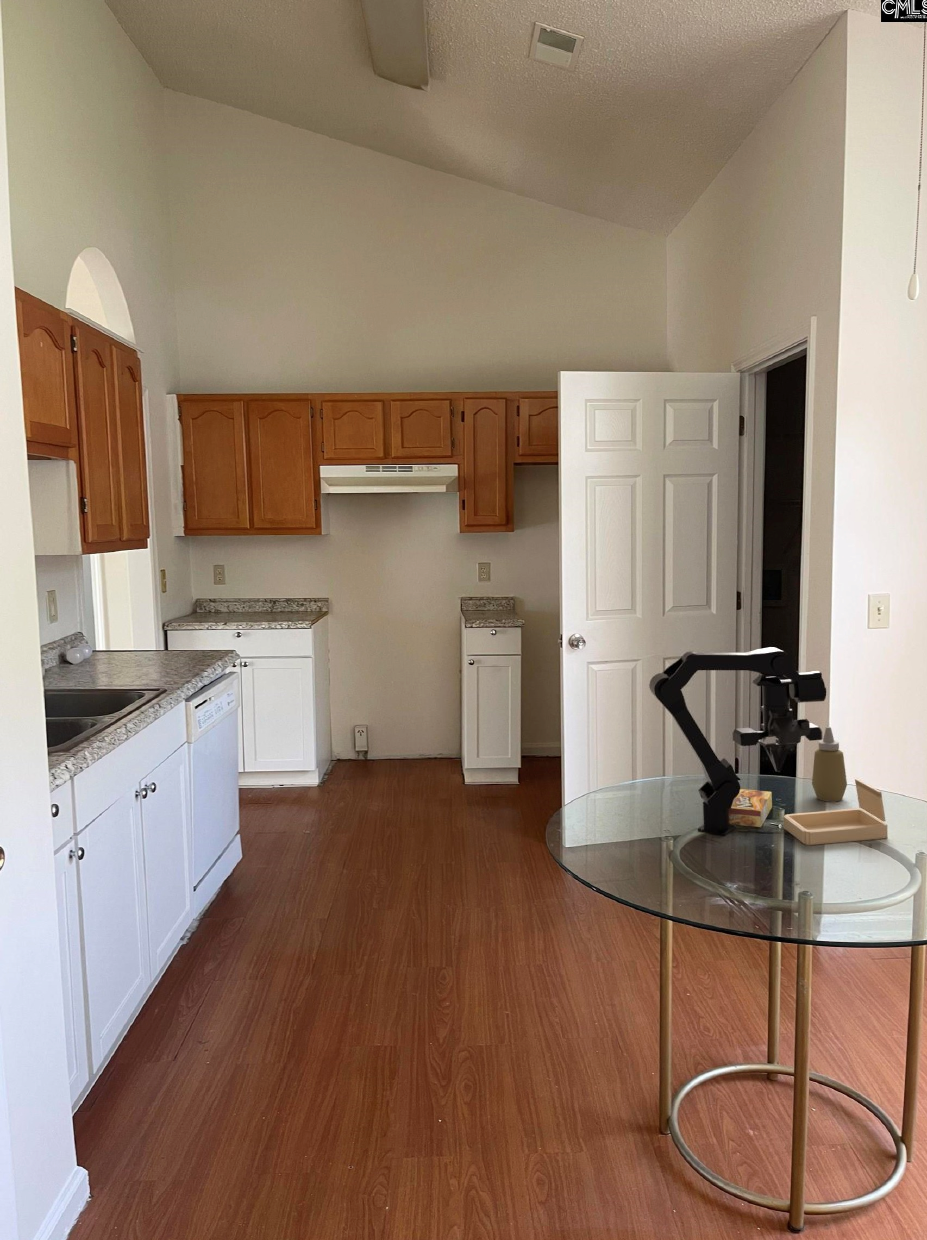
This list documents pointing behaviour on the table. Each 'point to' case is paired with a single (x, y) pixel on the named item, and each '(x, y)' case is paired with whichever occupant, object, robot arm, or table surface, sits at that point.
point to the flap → (870, 799)
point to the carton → (834, 826)
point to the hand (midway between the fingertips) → (777, 771)
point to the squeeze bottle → (829, 769)
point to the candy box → (750, 808)
